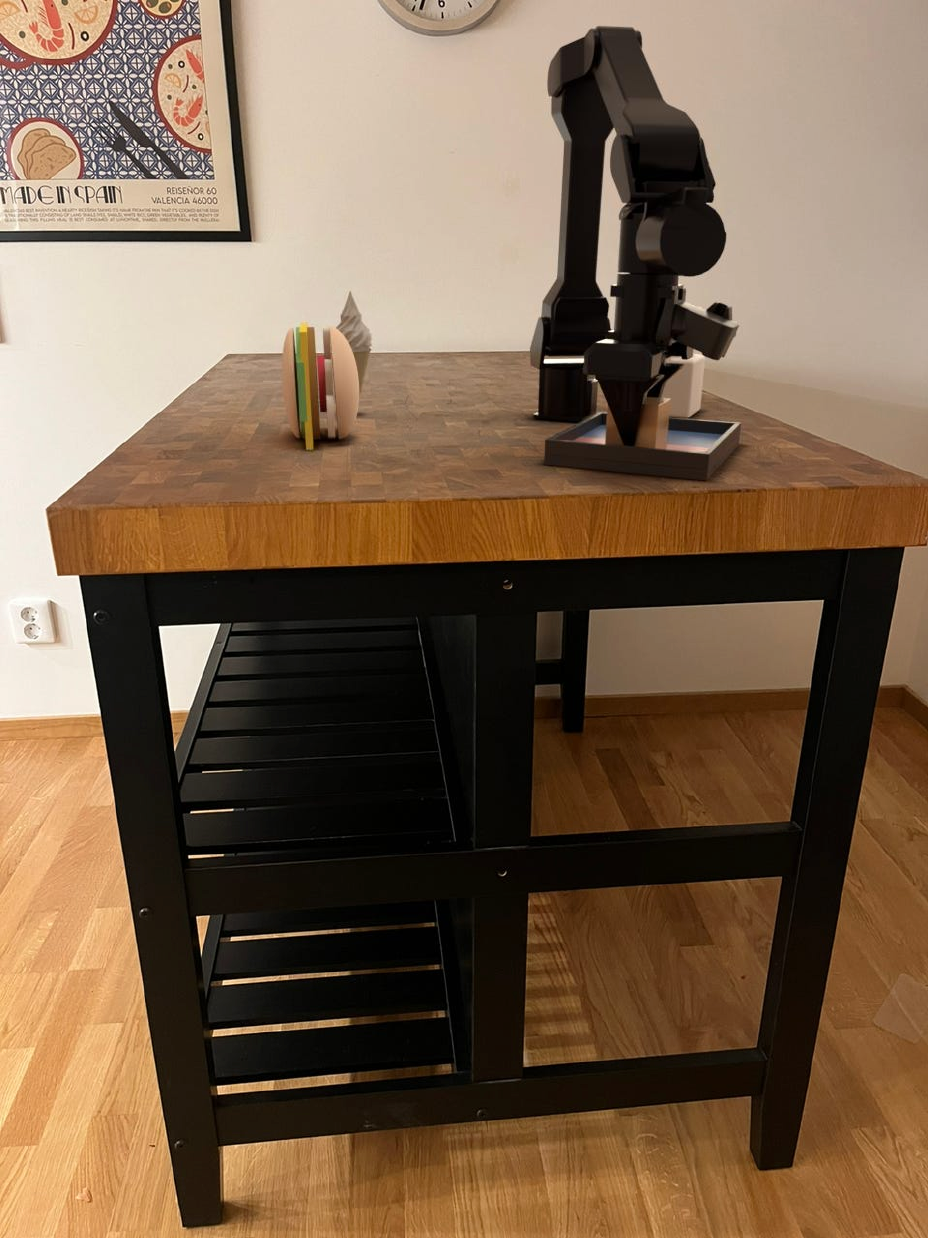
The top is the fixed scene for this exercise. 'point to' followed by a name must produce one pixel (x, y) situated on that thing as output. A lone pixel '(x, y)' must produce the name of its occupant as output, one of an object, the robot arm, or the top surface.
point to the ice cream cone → (356, 337)
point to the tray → (646, 449)
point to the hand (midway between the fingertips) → (636, 440)
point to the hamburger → (304, 385)
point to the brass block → (645, 425)
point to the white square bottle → (685, 386)
